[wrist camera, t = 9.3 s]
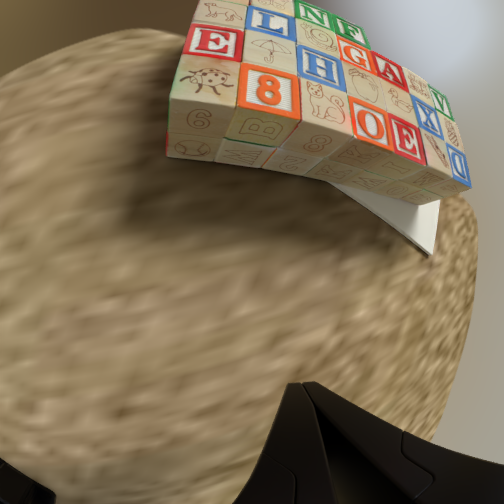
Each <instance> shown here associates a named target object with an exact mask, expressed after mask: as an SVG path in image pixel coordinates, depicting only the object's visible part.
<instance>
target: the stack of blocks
mask: <svg viewBox="0 0 504 504" xmlns="http://www.w3.org/2000/svg"><path fill="white" fill-rule="evenodd" d="M166 156H168V157H174V158H184V159H193V160H201V161H215V162H218V163H226V164H233V165H240V166H247V167H255V168H260V167H261V168H263V169H268V170H274V171H279V172H285V173H290V174H296V175H303V176H305V177H310V178H315V179H319V180H324V181H328V182H333V183H337V184H341V185H344V186H348V187H352V188H356V189H361V190H365V191H369V192H371V191H372V192H373V193H376V194H380V195H383V196H388V197H391V198H395V199H398V198H399V199H401V200H404V201H407V202H410V203H413V204H416V205H420V206H421V205H424V204H427V203H430V202H433V201H436V200H439V199H442V198H444V197H448V196H451V195H454V194H457V193H460V192H463V191H466V190H469V189H471V188H472V186H471V181H470V176H469V170H468V166H467V161H466V157H465V154H464V148H463V145H462V140H461V137H460V133H459V130H458V127H457V124H456V123H455V121H454V118H453V115H452V112H451V109H450V106H449V103H448V100H447V98H446V96H445V95H444V94H442V93H441V92H440V91H438V90H436V89H435V88H434V87H432V86H431V85H430V84H428V83H427V82H426V81H425V80H423V79H422V78H420V77H419V76H417V75H416V74H414V73H413V72H411V71H409V70H408V69H406V68H404V67H403V66H399V65H398V64H396V63H394V62H392V61H391V60H389V59H387V58H385V57H383V56H382V55H380V54H378V53H376V52H374V51H372V50H371V47H370V45H369V42H368V39H367V37H366V34H365V31H364V29H363V28H362V27H360V26H358V25H356V24H354V23H352V22H350V21H348V20H346V19H344V18H342V17H339V16H337V15H335V14H331V13H330V12H329V11H327V10H324V9H322V8H319V7H317V6H314V5H312V4H309V3H307V2H304V1H301V0H199V2H198V5H197V7H196V11H195V13H194V15H193V19H192V23H191V26H190V29H189V32H188V34H187V37H186V41H185V44H184V47H183V51H182V54H181V57H180V60H179V64H178V67H177V70H176V73H175V77H174V81H173V84H172V88H171V92H170V96H169V106H168V128H167V132H166Z"/></svg>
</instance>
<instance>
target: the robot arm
mask: <svg viewBox="0 0 504 504" xmlns="http://www.w3.org/2000/svg"><path fill="white" fill-rule="evenodd" d="M55 501H56V495H55V493H54V492H53V491H51V490H50V489H48V488H46V487H44V486H42V485H41V484H39V483H37V482H35V481H34V480H32V479H31V478H29V477H27V476H26V475H24V474H23V473H21V472H19V471H18V470H16V469H15V468H14V467H12V466H11V465H9V464H8V463H6V462H5V461H4V460H2V459H1V458H0V504H55ZM232 504H504V465H503V464H498V463H494V462H490V461H486V460H482V459H479V458H475V457H472V456H468V455H465V454H462V453H459V452H455V451H452V450H449V449H446V448H444V447H441V446H438V445H435V444H433V443H430V442H428V441H426V440H423V439H421V438H419V437H417V436H415V435H413V434H411V433H408V432H406V431H403V430H401V429H399V428H398V427H396V426H394V425H392V424H390V423H388V422H386V421H384V420H382V419H380V418H378V417H377V416H375V415H373V414H371V413H369V412H367V411H366V410H364V409H362V408H360V407H358V406H357V405H355V404H353V403H351V402H349V401H348V400H346V399H344V398H343V397H341V396H339V395H337V394H336V393H334V392H332V391H331V390H329V389H327V388H326V387H324V386H322V385H321V384H319V383H317V382H315V381H312V382H303V383H302V384H301V383H299V382H298V383H288V384H287V386H286V389H285V391H284V394H283V397H282V400H281V403H280V405H279V408H278V411H277V414H276V416H275V419H274V422H273V424H272V427H271V430H270V432H269V435H268V437H267V440H266V442H265V445H264V447H263V450H262V452H261V454H260V457H259V459H258V461H257V464H256V466H255V468H254V470H253V472H252V474H251V476H250V478H249V480H248V481H247V483H246V484H245V486H244V488H243V489H242V491H241V492H240V494H239V495H238V497H237V498H236V499H235V501H234V502H233V503H232Z"/></svg>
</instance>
